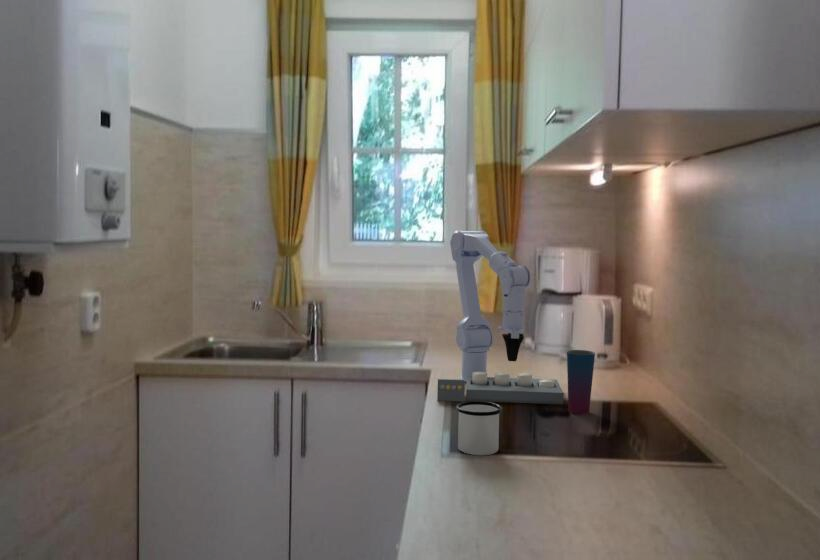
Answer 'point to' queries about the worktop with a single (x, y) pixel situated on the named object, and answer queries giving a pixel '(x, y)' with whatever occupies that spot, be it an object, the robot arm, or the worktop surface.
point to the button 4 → (546, 383)
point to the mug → (478, 427)
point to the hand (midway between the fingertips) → (512, 360)
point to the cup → (579, 380)
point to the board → (514, 392)
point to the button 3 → (524, 379)
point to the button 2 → (502, 379)
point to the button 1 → (479, 378)
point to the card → (451, 389)
